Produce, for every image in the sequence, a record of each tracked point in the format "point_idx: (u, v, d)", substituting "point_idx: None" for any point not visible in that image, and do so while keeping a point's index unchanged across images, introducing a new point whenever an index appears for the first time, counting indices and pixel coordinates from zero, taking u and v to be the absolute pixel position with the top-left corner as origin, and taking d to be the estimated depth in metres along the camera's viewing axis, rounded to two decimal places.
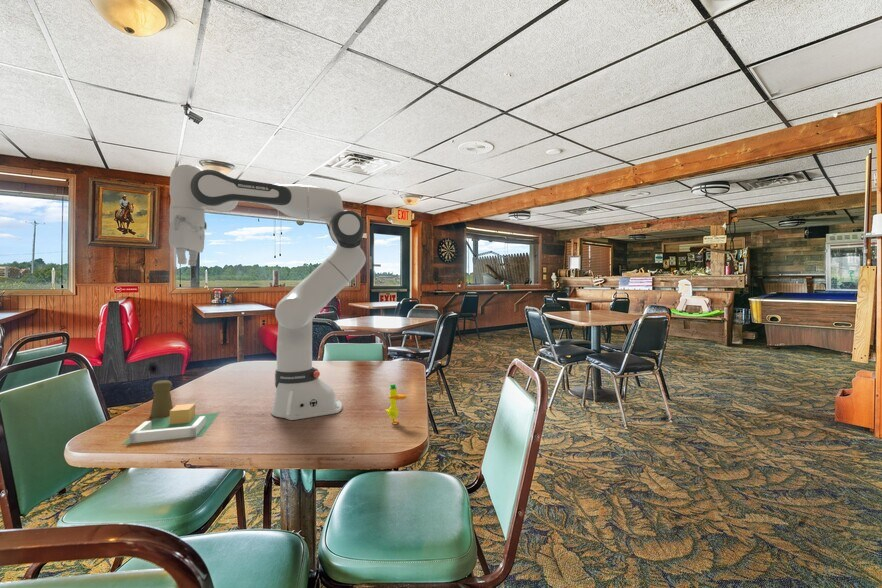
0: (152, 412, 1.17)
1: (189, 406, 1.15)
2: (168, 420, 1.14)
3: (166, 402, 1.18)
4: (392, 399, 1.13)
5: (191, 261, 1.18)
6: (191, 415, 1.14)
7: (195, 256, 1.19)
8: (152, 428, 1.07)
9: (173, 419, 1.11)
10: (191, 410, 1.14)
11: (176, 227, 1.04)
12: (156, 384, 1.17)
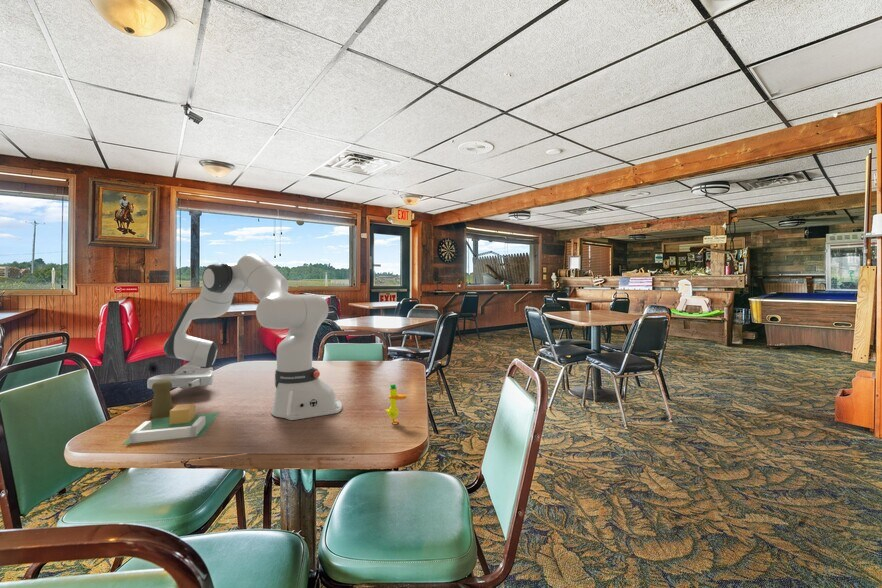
0: (152, 412, 1.17)
1: (189, 406, 1.15)
2: (168, 420, 1.14)
3: (166, 402, 1.18)
4: (392, 399, 1.13)
5: None
6: (191, 415, 1.14)
7: None
8: (152, 428, 1.07)
9: (173, 419, 1.11)
10: (191, 410, 1.14)
11: None
12: (156, 384, 1.17)
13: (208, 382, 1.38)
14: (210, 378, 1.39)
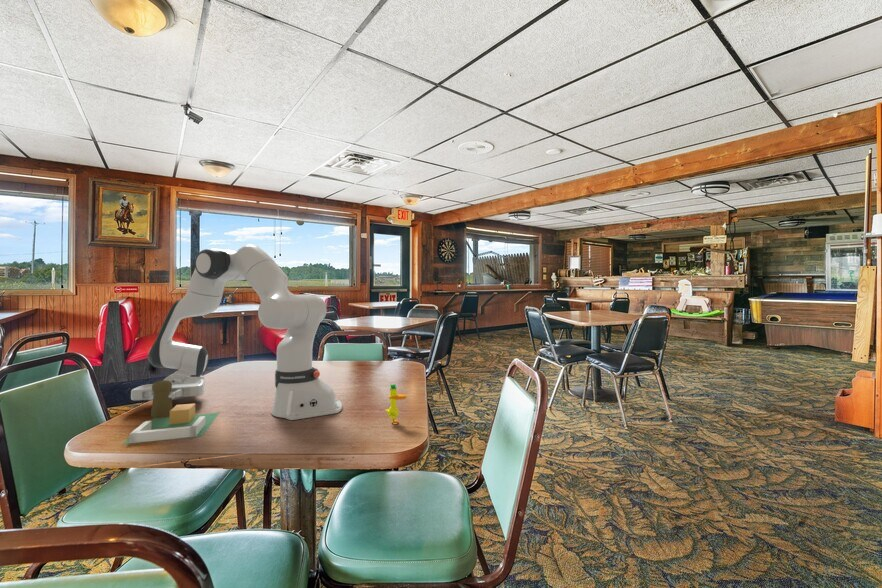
0: (152, 412, 1.17)
1: (189, 406, 1.15)
2: (168, 420, 1.14)
3: (166, 402, 1.18)
4: (392, 399, 1.13)
5: None
6: (191, 415, 1.14)
7: None
8: (152, 428, 1.07)
9: (173, 419, 1.11)
10: (191, 410, 1.14)
11: None
12: (156, 384, 1.17)
13: (198, 392, 1.26)
14: (200, 388, 1.26)
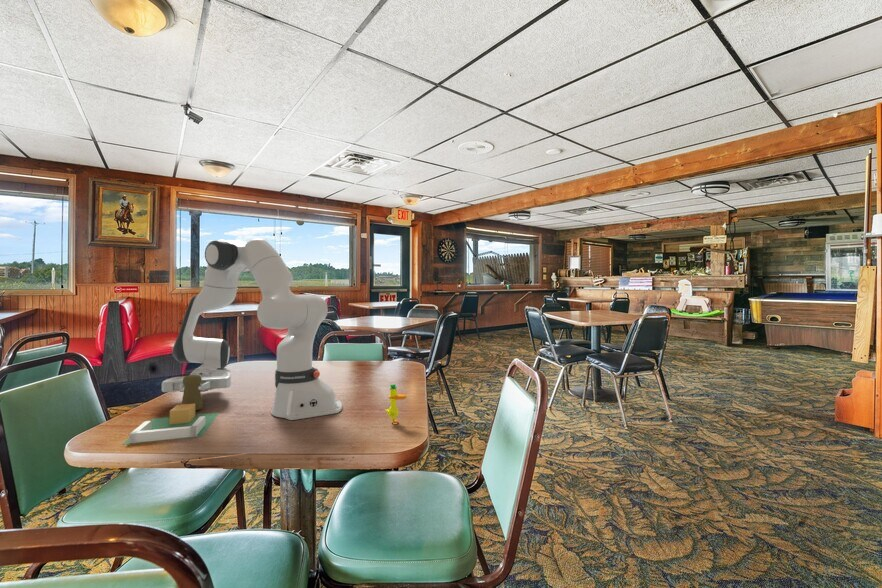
0: None
1: (189, 406, 1.15)
2: (168, 420, 1.14)
3: (196, 396, 1.22)
4: (392, 399, 1.13)
5: None
6: (191, 415, 1.14)
7: None
8: (152, 428, 1.07)
9: (173, 419, 1.11)
10: (191, 410, 1.14)
11: None
12: (187, 377, 1.21)
13: (226, 384, 1.29)
14: (228, 380, 1.30)
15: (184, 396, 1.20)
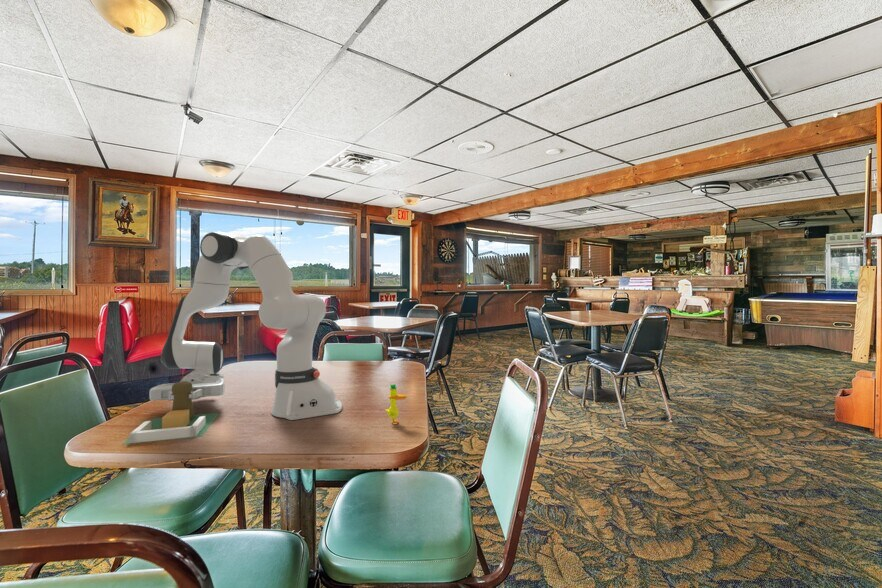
0: None
1: (182, 412, 1.10)
2: None
3: (187, 405, 1.13)
4: (392, 399, 1.13)
5: None
6: (185, 422, 1.09)
7: None
8: (152, 428, 1.07)
9: (165, 426, 1.05)
10: (185, 416, 1.09)
11: None
12: (177, 386, 1.11)
13: (219, 392, 1.20)
14: (221, 387, 1.21)
15: (174, 405, 1.12)
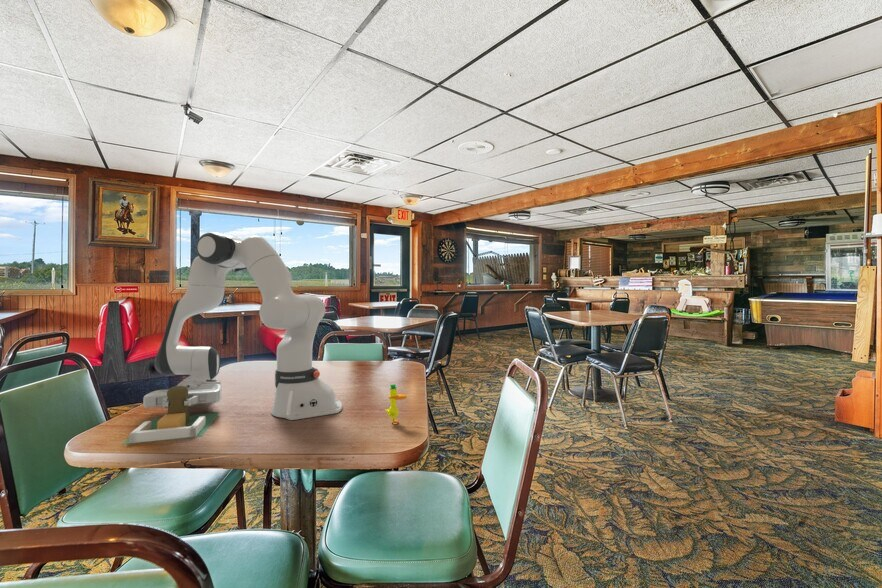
0: None
1: (178, 416, 1.06)
2: None
3: (183, 410, 1.10)
4: (392, 399, 1.13)
5: None
6: (181, 426, 1.06)
7: None
8: (152, 428, 1.07)
9: None
10: (181, 420, 1.06)
11: None
12: (172, 391, 1.08)
13: (215, 399, 1.16)
14: (218, 394, 1.17)
15: (169, 411, 1.09)
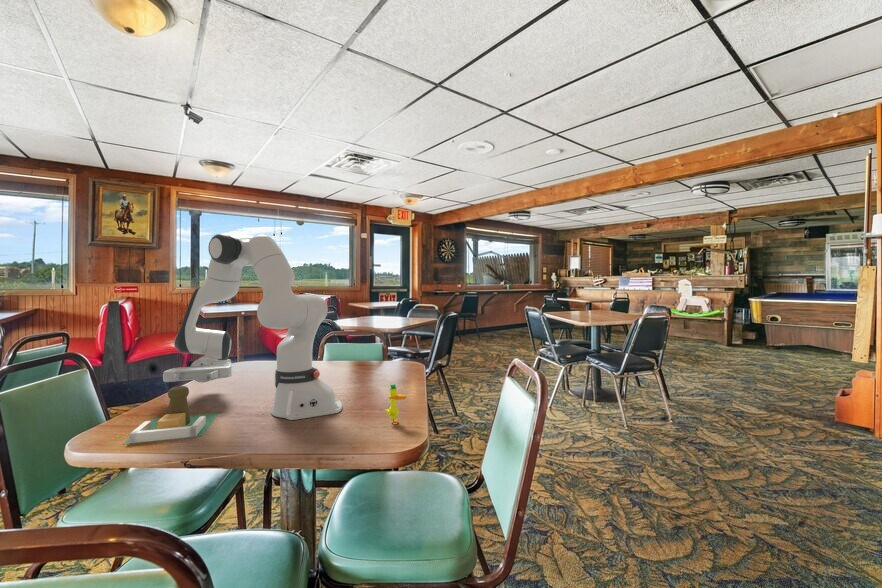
0: None
1: (178, 416, 1.06)
2: None
3: (183, 410, 1.10)
4: (392, 399, 1.13)
5: None
6: (181, 426, 1.06)
7: None
8: (152, 428, 1.07)
9: None
10: (181, 420, 1.06)
11: None
12: (173, 390, 1.09)
13: (227, 374, 1.30)
14: (229, 369, 1.30)
15: (169, 410, 1.09)
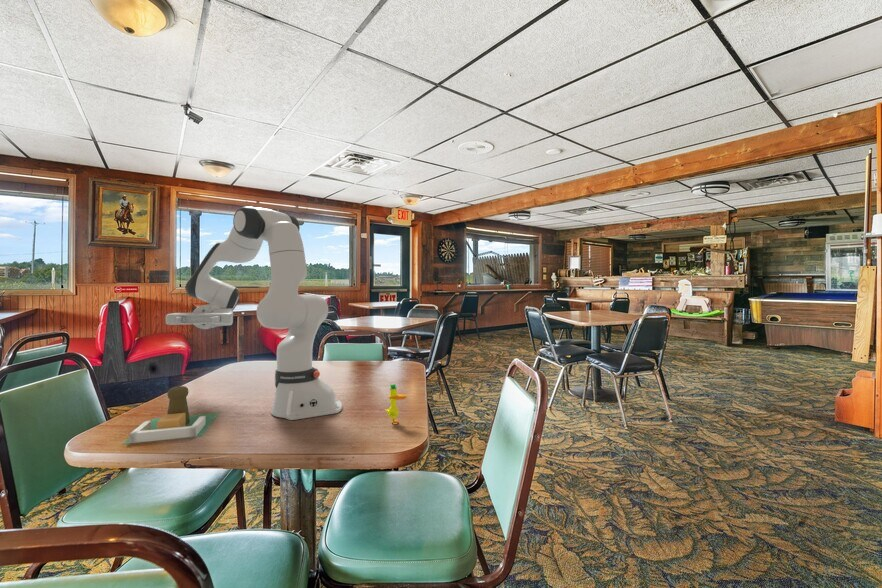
0: None
1: (178, 416, 1.06)
2: None
3: (183, 410, 1.10)
4: (392, 399, 1.13)
5: None
6: (181, 426, 1.06)
7: None
8: (152, 428, 1.07)
9: None
10: (181, 420, 1.06)
11: None
12: (172, 390, 1.09)
13: (228, 320, 1.33)
14: (230, 316, 1.33)
15: (169, 410, 1.09)
